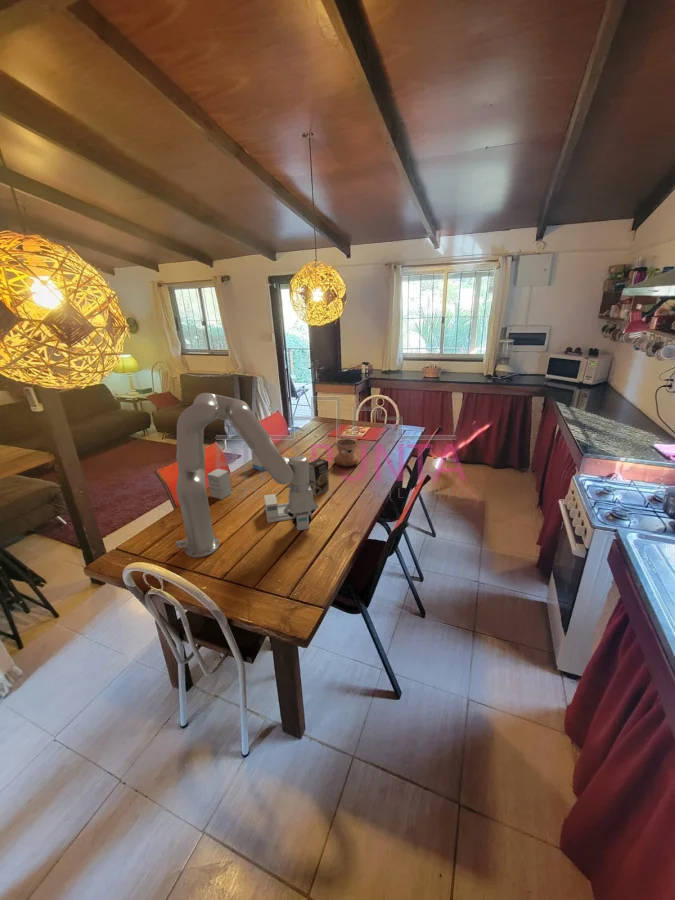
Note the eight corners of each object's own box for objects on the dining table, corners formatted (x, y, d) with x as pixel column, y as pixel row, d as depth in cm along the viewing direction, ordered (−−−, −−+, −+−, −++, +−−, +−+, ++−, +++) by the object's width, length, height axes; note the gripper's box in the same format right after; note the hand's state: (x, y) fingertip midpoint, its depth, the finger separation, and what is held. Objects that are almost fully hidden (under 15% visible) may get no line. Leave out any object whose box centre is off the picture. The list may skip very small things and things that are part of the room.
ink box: (262, 471, 199) (260, 450, 194) (252, 468, 203) (250, 447, 198) (273, 466, 205) (271, 445, 200) (263, 463, 210) (261, 442, 205)
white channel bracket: (267, 522, 150) (266, 506, 147) (265, 508, 160) (263, 493, 158) (312, 515, 155) (312, 500, 152) (307, 502, 166) (306, 487, 163)
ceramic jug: (354, 470, 199) (355, 447, 194) (330, 468, 202) (330, 445, 197) (360, 459, 215) (361, 438, 210) (338, 457, 218) (338, 435, 213)
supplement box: (221, 490, 178) (217, 468, 173) (232, 493, 175) (229, 470, 170) (210, 496, 172) (206, 473, 167) (221, 499, 169) (218, 476, 164)
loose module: (297, 530, 144) (296, 516, 141) (295, 524, 149) (294, 510, 146) (309, 528, 145) (308, 514, 143) (306, 522, 150) (306, 508, 147)
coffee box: (316, 496, 171) (315, 466, 165) (307, 492, 175) (306, 463, 170) (329, 489, 178) (328, 461, 172) (320, 485, 182) (319, 457, 176)
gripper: (280, 492, 134) (283, 532, 141) (322, 487, 139) (323, 525, 145) (277, 484, 141) (280, 522, 148) (318, 479, 145) (319, 516, 152)
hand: (302, 523), depth 146 cm, fingers closed on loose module, 5 cm apart
